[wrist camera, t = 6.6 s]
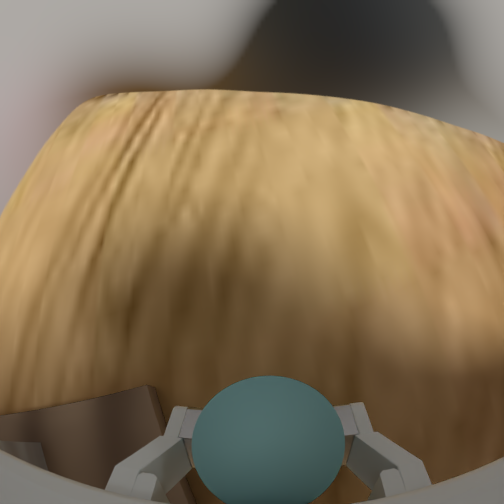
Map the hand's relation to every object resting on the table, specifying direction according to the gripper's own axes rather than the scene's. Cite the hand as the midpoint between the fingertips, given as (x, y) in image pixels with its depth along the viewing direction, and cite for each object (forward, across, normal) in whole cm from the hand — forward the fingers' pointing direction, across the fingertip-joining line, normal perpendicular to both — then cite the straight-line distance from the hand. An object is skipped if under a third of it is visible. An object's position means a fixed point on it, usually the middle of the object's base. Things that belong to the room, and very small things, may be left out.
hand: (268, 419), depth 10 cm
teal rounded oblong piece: (+3, 0, +4) cm, 5 cm away
